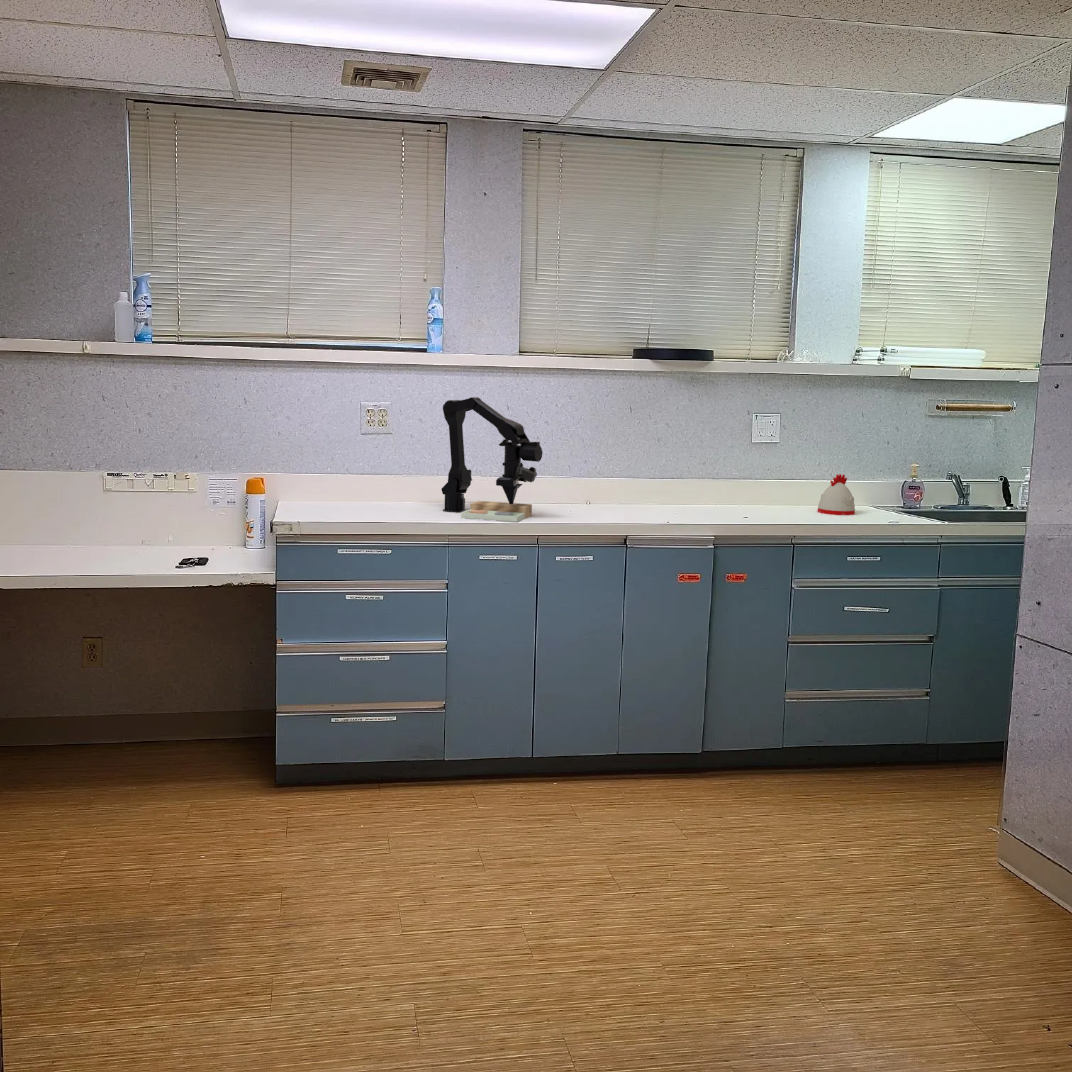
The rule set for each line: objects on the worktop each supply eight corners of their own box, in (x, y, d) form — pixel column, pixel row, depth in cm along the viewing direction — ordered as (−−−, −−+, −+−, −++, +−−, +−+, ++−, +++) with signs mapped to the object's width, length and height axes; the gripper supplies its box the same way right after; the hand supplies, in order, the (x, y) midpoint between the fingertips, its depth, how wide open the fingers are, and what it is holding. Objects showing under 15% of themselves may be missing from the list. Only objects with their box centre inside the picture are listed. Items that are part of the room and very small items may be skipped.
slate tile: (499, 511, 372) (498, 517, 373) (494, 513, 368) (494, 519, 368) (512, 512, 371) (512, 518, 371) (508, 514, 366) (508, 520, 367)
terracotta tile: (474, 509, 375) (473, 515, 375) (469, 511, 370) (469, 517, 370) (487, 510, 374) (487, 516, 374) (483, 512, 369) (483, 518, 369)
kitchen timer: (862, 514, 414) (865, 475, 412) (836, 516, 407) (839, 476, 405) (835, 509, 426) (838, 472, 424) (810, 511, 419) (812, 473, 417)
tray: (461, 518, 370) (461, 512, 369) (470, 514, 379) (470, 509, 378) (516, 522, 364) (516, 516, 364) (524, 518, 373) (524, 513, 373)
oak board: (470, 514, 379) (470, 503, 378) (478, 511, 387) (478, 500, 387) (524, 518, 374) (525, 507, 373) (531, 515, 382) (531, 504, 381)
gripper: (527, 463, 362) (526, 509, 365) (541, 458, 380) (540, 502, 383) (496, 461, 365) (494, 506, 368) (511, 457, 383) (510, 500, 386)
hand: (511, 504), depth 376 cm, fingers closed
